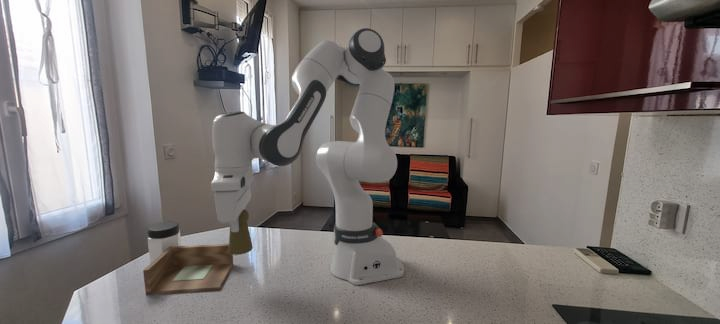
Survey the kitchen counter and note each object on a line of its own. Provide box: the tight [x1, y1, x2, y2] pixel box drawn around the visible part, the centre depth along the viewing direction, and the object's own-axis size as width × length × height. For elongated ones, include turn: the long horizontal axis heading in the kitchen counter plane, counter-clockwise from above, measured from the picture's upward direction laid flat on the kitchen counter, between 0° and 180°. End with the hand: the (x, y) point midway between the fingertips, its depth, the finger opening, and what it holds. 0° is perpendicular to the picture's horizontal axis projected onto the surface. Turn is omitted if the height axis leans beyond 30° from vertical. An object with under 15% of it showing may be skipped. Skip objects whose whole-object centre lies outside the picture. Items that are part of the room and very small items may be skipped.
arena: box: [142, 243, 234, 296], centre depth 85 cm, size 18×14×7 cm
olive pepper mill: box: [228, 208, 254, 256], centre depth 79 cm, size 6×6×11 cm
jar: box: [147, 220, 182, 265], centre depth 94 cm, size 9×8×12 cm
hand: (238, 226), depth 79 cm, fingers closed on olive pepper mill, 4 cm apart
